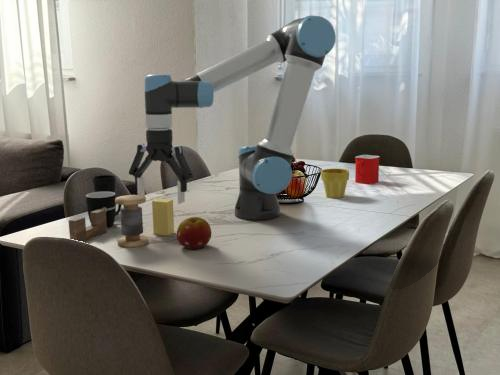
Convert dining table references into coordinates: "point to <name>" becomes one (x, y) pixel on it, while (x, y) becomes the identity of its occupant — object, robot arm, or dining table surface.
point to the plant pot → (335, 182)
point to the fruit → (194, 233)
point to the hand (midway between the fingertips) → (161, 200)
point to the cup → (104, 183)
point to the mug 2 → (367, 169)
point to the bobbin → (131, 221)
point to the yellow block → (163, 216)
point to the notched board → (86, 233)
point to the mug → (103, 205)
